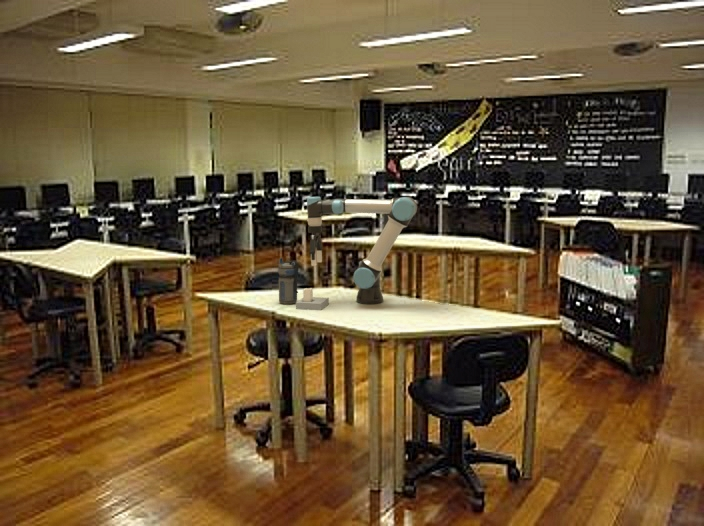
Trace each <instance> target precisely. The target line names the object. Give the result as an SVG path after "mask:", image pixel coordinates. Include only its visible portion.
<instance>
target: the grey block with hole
mask: <svg viewBox="0 0 704 526" xmlns="http://www.w3.org/2000/svg"><path fill="white" fill-rule="evenodd" d="M329 301H330V298H329V297H320V296H319V297H315V296H313V301H312V302H304V299H303V297H302V298H300V299H299V300H297V302H296V303H295V310H307V309H309V311H321V310H323V309H324V308H326V307H327V306H328V305H329V304H330V303H329ZM325 306H326V307H325Z"/></svg>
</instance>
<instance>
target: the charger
mask: <svg viewBox="0 0 704 526" xmlns="http://www.w3.org/2000/svg"><path fill="white" fill-rule="evenodd" d="M313 291H314V290H313V288H312V287H310V288H307V287H306V288H303V291H302V292H303V293H302V295H303V296H302V298H303V299H304V302H312V301H313V297H314V296H313V295H314V293H313Z"/></svg>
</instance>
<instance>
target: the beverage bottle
mask: <svg viewBox="0 0 704 526" xmlns="http://www.w3.org/2000/svg"><path fill="white" fill-rule="evenodd" d="M299 268H300V263H299V261H297V260H287V261H283V258H282V257H281V258H279V259H278V271H277V272H278V275H279V276H278V301H279V303H280V304H282V305H293V303H294V304H296V302H297V301H298V294H299V292H298V278H299V277H298V276H299V271H300V269H299Z"/></svg>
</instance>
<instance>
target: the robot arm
mask: <svg viewBox="0 0 704 526" xmlns="http://www.w3.org/2000/svg"><path fill="white" fill-rule="evenodd" d="M417 210H418V204H417V202H416V201H415V199H414V198H412V197H410V196H403V197H393V198H392V199H368V198H367V199H362V198H353V199H351V198H334V199H326V200H323V199H322V198H321V197H320V196H309V197H307V198H306V211H307V213H306V214H307V219H306V221H307V224H308V226H307V232H308V233H309V234H311V235H310V237H309V238H310V239H309V241H310V242H309V243H310V245H309V252H308V254H309V255H310V261H311V263H310V265H311V267H316V266H317V263H322V262H323V256H322V255H323V254H322V251H323V250H324V248H323V245H322V244H323V242H322V238H321V237H322V236H321V233H323V226H322V224H323V220H322V219H323V218H322V215H339V214H340V215H341V214H343V213H344V214H345V213H351V214H352V213H354V214H386V215H387V217H388V221H387V222H386V223H385V226H384V228H383V229H382V231H381V233H380V235H379V236H378V238H377V240H376V241H375V244H374V245H373V246H372V248H371V251H370V252H369V254H368V255H367V257H365V258H364V259H362V260H360V261H359V263H358V267H357V269H356V270H355V271H354V273H353V277H352V279H353V282H354V284H355V285H356V286H357V287H358V288H359V289H358V291H357V295H356V298H355V299H356V300H355V301H356V303H359V304H362V305H364V304H365V305H375V304H376V305H377V304H381V303H383V302H384V296H383V293H382V290H381V272H382V265H383V263H384V261H385V260H386V257H387V256H388V255H389V253H390V250H392V248H393V245H394V244H395V242H396V241H397V240H398V237H399V235H400V233H401V232H402V230H403V229H404V228H407V227H408V225H409V224H410V222H411V220H412V219H413V217H414V216H415V215H416V213H417V212H418V211H417Z"/></svg>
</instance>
